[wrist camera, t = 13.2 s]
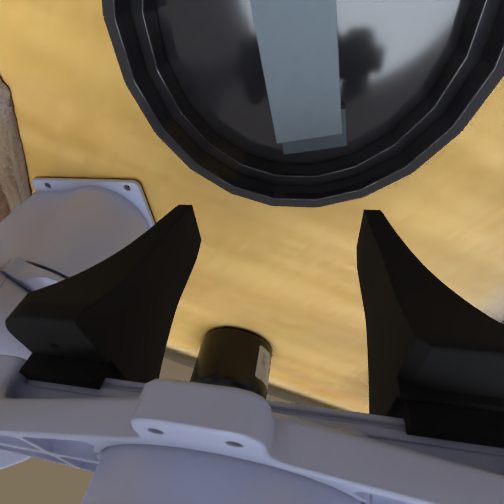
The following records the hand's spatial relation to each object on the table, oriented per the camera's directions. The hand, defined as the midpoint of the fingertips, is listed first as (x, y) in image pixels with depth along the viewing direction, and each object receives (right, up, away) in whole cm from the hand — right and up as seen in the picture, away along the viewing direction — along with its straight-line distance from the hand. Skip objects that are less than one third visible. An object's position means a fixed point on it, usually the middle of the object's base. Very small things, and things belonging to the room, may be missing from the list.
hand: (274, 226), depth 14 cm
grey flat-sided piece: (+2, +10, +2) cm, 10 cm away
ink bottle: (-3, -13, +27) cm, 30 cm away
